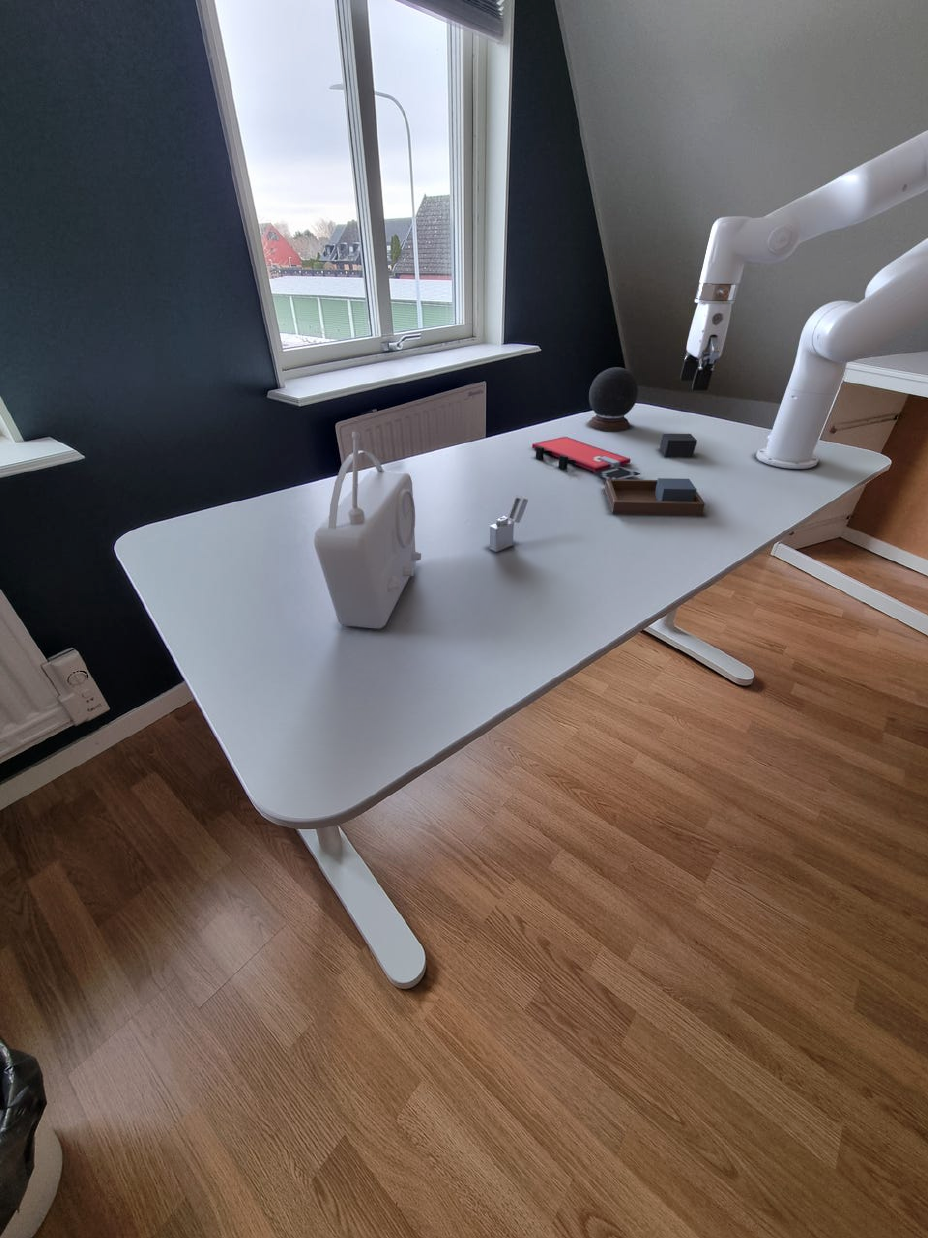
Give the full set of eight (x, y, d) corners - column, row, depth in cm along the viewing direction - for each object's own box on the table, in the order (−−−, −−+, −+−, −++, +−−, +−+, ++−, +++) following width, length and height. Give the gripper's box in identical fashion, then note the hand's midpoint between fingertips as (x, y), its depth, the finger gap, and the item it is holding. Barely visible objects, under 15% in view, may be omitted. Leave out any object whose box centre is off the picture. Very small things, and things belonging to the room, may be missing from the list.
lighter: (495, 552, 84) (496, 508, 79) (489, 548, 85) (489, 504, 80) (525, 539, 88) (528, 496, 83) (519, 535, 89) (521, 493, 84)
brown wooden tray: (604, 490, 104) (606, 478, 103) (685, 491, 103) (688, 480, 101) (612, 513, 95) (614, 501, 94) (701, 515, 94) (705, 503, 92)
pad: (654, 494, 101) (658, 478, 99) (684, 495, 100) (689, 478, 98) (660, 506, 96) (664, 488, 94) (692, 506, 96) (696, 489, 94)
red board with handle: (606, 487, 105) (655, 473, 111) (608, 474, 103) (657, 461, 109) (520, 451, 125) (565, 442, 132) (520, 440, 124) (566, 431, 130)
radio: (390, 642, 65) (363, 453, 50) (331, 636, 66) (287, 449, 52) (428, 560, 82) (417, 400, 67) (380, 556, 84) (359, 398, 69)
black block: (659, 449, 124) (663, 433, 122) (686, 450, 124) (690, 433, 121) (664, 457, 120) (668, 440, 117) (692, 457, 119) (697, 440, 117)
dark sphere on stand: (641, 429, 138) (652, 370, 129) (599, 434, 136) (607, 374, 127) (617, 417, 149) (626, 361, 140) (577, 421, 146) (583, 365, 137)
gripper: (751, 297, 94) (722, 394, 104) (721, 291, 108) (698, 377, 118) (710, 297, 94) (686, 393, 105) (685, 291, 108) (666, 376, 118)
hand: (692, 384), depth 111 cm, fingers open, 9 cm apart
